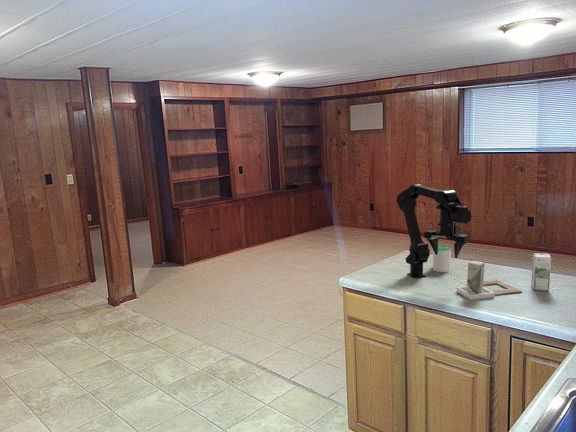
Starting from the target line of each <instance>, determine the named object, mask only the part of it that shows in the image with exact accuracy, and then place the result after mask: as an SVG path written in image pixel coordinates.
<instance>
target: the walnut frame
mask: <svg viewBox="0 0 576 432" xmlns="http://www.w3.org/2000/svg"><path fill="white" fill-rule="evenodd" d="M495 285H497V286H499V287H501V288H503V289H496V290H491V289H489V288H487V286H495ZM485 286H486V287H485ZM483 287H484V288H486V289H488V290H490V291H492V292H494V293H495V294H494V297H495V296H504V295H513V294H520V293H523V291H522V290H521V289H518V288H516V287H514V286H511V285H510V284H507V283H505V282H503V281H501V280H498V279H493V280H492V279H491V280H490V279H489V280H483Z"/></svg>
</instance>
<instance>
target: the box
mask: <svg viewBox="0 0 576 432" xmlns="http://www.w3.org/2000/svg"><path fill="white" fill-rule="evenodd" d="M485 264H486V263H485V262H483V261H477V260H471V261H469V262H468V264H467V280H466V281H467V282H466V283H467V284H466V286H467V292H468V293H470V294H482V293H483V287H484V286H483V281H485V280H484V277H485Z"/></svg>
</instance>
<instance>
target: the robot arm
mask: <svg viewBox="0 0 576 432" xmlns="http://www.w3.org/2000/svg"><path fill="white" fill-rule="evenodd" d="M457 194H458V193H457V192H456V191H455V190H454V189H437V188H434V187H429V186H427V185H426V186H425V185H422V184H420V183H417V184H416V183H415V184H411V185H410V186H409V187H408V188H406V189H405V190H403V191H402V192H401V193H399V194H397V196H396V203H397V206H398V208H399V209H400V210H401V211H402V213H403V215H404V219H405V220H404V221H405V223H406V228H407V231H408V234H409V235H408V236H409V240H410V244H409V245H410V246H409V254H408V255H407V256H406V257H405V263H406V264H408V265H409V266H410V267H409V272H407V273H406V274H407V275H408V276H409V277H411V278H412V279H415V278H417V279H418V278H425V277H426V276H427V275H426V274H424V263H428V260H429V257H430V256H431V255H430V252H431V251H430V246H431V248H432V251H433V250H434V253H435V255H437V254H438V247H439V241H440V239H446V240H452V241H454V242H455V243H453V246H454V251H453V252H454V258H455V259H458V257H459V254H460V252H461V251H462V248H463V246H464V245H467V244H468V243H470V242H472V241H471V236H470V235H469V234H463V233H461V232H462V227H460V226H458V225H457V224H456V223H460V224H465V225H466V224H468V223H470V222H471V219H472V213H471V211H470V210H469V207H468V206H463V204H462V202H461V200H460V198H459V196H458V195H457ZM420 196H422V197H425V198H429V199H432V200H434V202H435V203H437V204H438V205H437V206H436V207H435V209H437V210H439V222H438V224H437V225H438V226H439V231H438V230H435V229H429V230H426V231H424V233H423V238H424V239H426V241H428V243H429V244H430V246H429V244H428V243H427V242H424V241H423V238H422V235H421V231H420V227H419V223H418V218H417V215H416V211H415V210H416V207H417V200H418V199H419V198H420Z"/></svg>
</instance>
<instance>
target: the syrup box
mask: <svg viewBox="0 0 576 432" xmlns="http://www.w3.org/2000/svg"><path fill="white" fill-rule="evenodd" d="M551 266H552V257H551V254H549V253H535V252H534V253H532V268H531V283H530V284H531V285H530V286H531V288H532V289H533V290H534V291H545V292H550V280H551Z"/></svg>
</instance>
